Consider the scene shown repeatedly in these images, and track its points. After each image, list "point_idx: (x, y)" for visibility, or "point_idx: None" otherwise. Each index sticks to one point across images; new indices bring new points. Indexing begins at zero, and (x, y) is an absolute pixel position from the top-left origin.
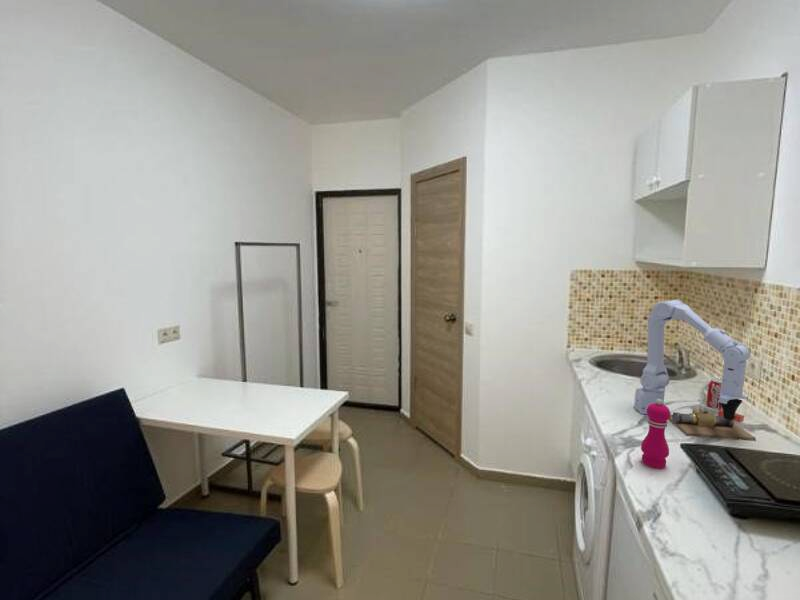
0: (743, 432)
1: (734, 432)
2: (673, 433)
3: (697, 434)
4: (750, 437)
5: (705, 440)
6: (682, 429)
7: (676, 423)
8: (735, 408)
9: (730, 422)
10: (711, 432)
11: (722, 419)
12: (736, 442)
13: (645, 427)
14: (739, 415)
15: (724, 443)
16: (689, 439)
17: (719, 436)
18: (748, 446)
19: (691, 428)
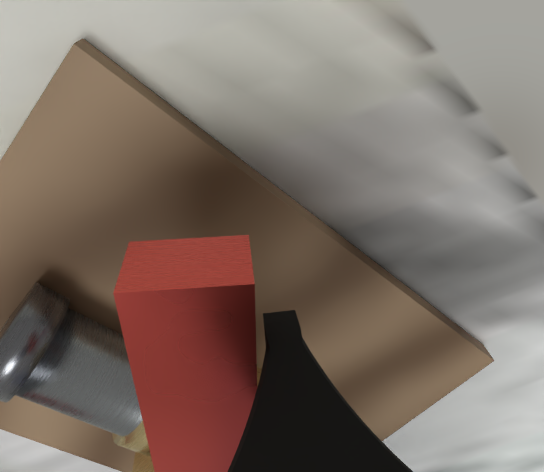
0: (56, 177)
1: (151, 218)
2: (504, 387)
3: (449, 324)
4: (122, 82)
5: (475, 260)
6: (438, 395)
7: None
8: (399, 465)
9: (60, 319)
10: (338, 300)
11: (108, 375)
12: (312, 124)
13: (524, 466)
14: (176, 327)
15: (425, 167)
16: (537, 311)
17: (342, 242)
18: (316, 16)
19: (382, 383)
